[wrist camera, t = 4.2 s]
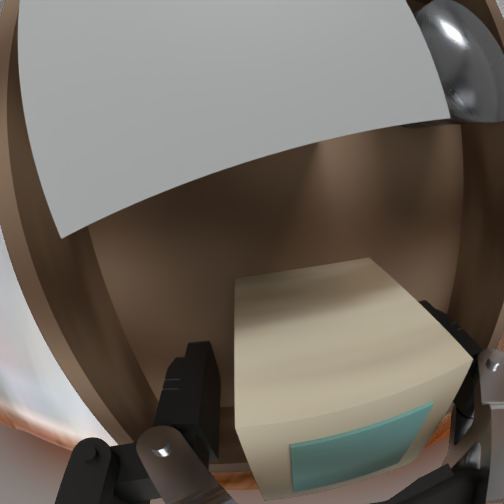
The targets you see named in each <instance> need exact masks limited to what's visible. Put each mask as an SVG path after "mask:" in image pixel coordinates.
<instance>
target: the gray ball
mask: <svg viewBox="0 0 504 504" xmlns="http://www.w3.org/2000/svg"><path fill="white" fill-rule="evenodd" d="M413 15H414V17H415V19H416V21H417V24H418V26H419V28H420V30H421V32H422V34H423V37H424V39H425V41H426V44H427V46H428V48H429V51H430V54H431V56H432V59H433V61H434V64H435V67H436V70H437V73H438V76H439V79H440V82H441V85H442V88H443V91H444V95H445V98H446V102H447V106H448V109H449V113H450V118H448V119H439V120H431V121H423V122H416V123H409V124H403V125H400V126H402V127H406V128H411V129H418V128H426V127H435V126H444V125H456V124H470V123H489V122H502V121H504V54H503V52H502V50H501V48H500V46H499V44H498V43H497V41H496V40H495V38H494V37H493V35H492V34H491V32H490V31H489V30H488V28H487V27H486V26H485V25H484V24H483V23H482V21H481V20H480V19H479V18H478V17H477V16H475V15H474V14H473V13H472V12H471V11H470V10H468V9H467V8H465V7H464V6H462V5H461V4H459V3H457V2H455V1H453V0H433V1H432V2H430V3H429V4H427V5H426V6H424V7H423V8H421V9H420V10H418V11H417V12H415V13H414V14H413Z"/></svg>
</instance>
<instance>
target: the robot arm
mask: <svg viewBox="0 0 504 504" xmlns="http://www.w3.org/2000/svg"><path fill="white" fill-rule="evenodd" d="M419 303H420V304H421V305H422V306H423V307H424V308H425V309H426V310H427V311H428V312H429V313H430V314H431V315H432V316H433V317H434V318H435V319H436V320H437V321H438V322H439V323H440V324H441V325H442V326H443V327H444V328H445V329H446V330H447V331H448V332H449V333H450V334H451V335H452V337H453V338H454V339H455V340H456V341H457V342H458V343H459V344H460V345H461V346H462V347H463V348H464V349H465V350H466V352H467V353H468V354H469V355H470V356H471V357H472V358H473V361H472V363H471V366H470V368H469V370H468V372H467V374H466V376H465V378H464V381H463V383H462V385H461V387H460V389H459V390H458V392H457V394H456V396H455V398H454V400H453V402H454V406H453V408H452V415H451V428H450V438H449V446H448V451H447V454H446V457H445V458H444V461H443V463H442V465H441V467H440V468H438V469H436V470H434V471H432V472H431V473H429V474H427V475H425V476H423V477H421V478H419V479H417V480H416V481H415V482H413V483H412V484H411V485H409V486H408V487H406V488H405V489H404V490H402V491H401V492H399V493H398V494H396V495H395V496H394V497H392V498H390V499H389V500H387V501H384V502H379V503H371V504H504V353H503V352H501V351H500V350H497V349H493V348H489V349H485V350H483V349H482V348H481V347H480V346H479V345H478V344H477V343H476V342H475V341H474V339H473V338H472V337H471V336H470V335H469V334H467V333H466V332H465V331H464V330H463V329H461V327H460V326H459V325H458V324H457V323H455V321H454V320H453V319H452V318H451V317H450V316H449V315H448V314H446V313H444V312H442V311H440V310H438V309H435V308H434V307H433V306H432V305H431V304H430V303H429V302H427V301H426V300H422V301H419ZM220 398H221V379H220V373H219V369H218V366H217V362H216V359H215V356H214V352H213V349H212V345H211V343H210V341H200V342H189V343H188V345H187V349H186V354H185V357H176V358H175V359H174V361H173V362H172V363H171V364H170V365H169V367H168V369H167V372H166V376H165V381H164V384H163V390H162V392H161V395H160V399H159V403H158V408H157V412H156V416H155V420H154V424H153V427H152V428H150V429H148V430H146V431H145V432H144V433H143V434H142V435H141V436H140V437H139V439H138V441H136V442H133V443H129V444H123V445H117V446H111V447H110V446H109V445H108V444H107V443H106V442H105V441H103V440H102V439H99V438H94V437H93V438H86V439H84V440H82V441H80V442H79V443H78V444H77V445H76V446H75V448H74V449H73V452H72V454H71V457H70V460H69V462H68V465H67V468H66V471H65V473H64V476H63V479H62V482H61V485H60V488H59V491H58V495H57V498H56V501H55V504H150V500H151V499H157V498H162V499H163V500H164V502H165V504H237V503H236V502H235V500H234V499H233V498H232V497H231V496H230V495H229V494H228V493H227V492H226V490H225V489H224V488H223V487H222V486H221V485H220V484H219V483H218V482H217V481H216V479H215V478H214V477H213V476H212V475H211V473H210V472H209V461H219V426H220Z"/></svg>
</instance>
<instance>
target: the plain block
mask: <svg viewBox="0 0 504 504" xmlns="http://www.w3.org/2000/svg"><path fill="white" fill-rule="evenodd" d="M18 64H19V77H20V87H21V96H22V103H23V110H24V116H25V121H26V126H27V131H28V136H29V141H30V145H31V149H32V153H33V157H34V161H35V165H36V168H37V172H38V175H39V179H40V182H41V185H42V188H43V191H44V194H45V197H46V200H47V203H48V206H49V209H50V212H51V214H52V217H53V220H54V222H55V225H56V227H57V230H58V232H59V235H60V237H61V239H62V238H64V237H66V236H68V235H70V234H71V233H73V232H75V231H77V230H79V229H81V228H83V227H85V226H87V225H89V224H91V223H94V222H96V221H98V220H100V219H102V218H104V217H106V216H108V215H110V214H113V213H115V212H117V211H119V210H121V209H124V208H126V207H128V206H131V205H133V204H135V203H137V202H140V201H142V200H145V199H147V198H149V197H152V196H154V195H157V194H159V193H162V192H164V191H167V190H169V189H172V188H174V187H177V186H179V185H182V184H185V183H187V182H190V181H193V180H195V179H198V178H201V177H204V176H206V175H209V174H212V173H215V172H218V171H221V170H224V169H227V168H230V167H233V166H236V165H239V164H242V163H245V162H248V161H251V160H255V159H258V158H261V157H264V156H268V155H271V154H275V153H278V152H282V151H285V150H289V149H292V148H296V147H300V146H304V145H308V144H311V143H315V142H319V141H324V140H328V139H332V138H336V137H341V136H345V135H350V134H354V133H359V132H364V131H369V130H374V129H380V128H385V127H391V126H397V125H403V124H409V123H416V122H423V121H431V120H439V119H448V118H450V113H449V109H448V106H447V102H446V98H445V95H444V91H443V88H442V85H441V82H440V79H439V76H438V73H437V70H436V67H435V64H434V61H433V59H432V56H431V54H430V51H429V48H428V46H427V44H426V41H425V39H424V37H423V34H422V32H421V30H420V28H419V26H418V24H417V21H416V19H415V17H414V15H413V13H412V12H411V10H410V8H409V6H408V4H407V2H406V0H20V4H19V17H18Z"/></svg>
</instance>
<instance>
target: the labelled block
mask: <svg viewBox="0 0 504 504" xmlns="http://www.w3.org/2000/svg"><path fill="white" fill-rule="evenodd" d="M472 361H473V358H472V357H471V356H470V355H469V354H468V353H467V352H466V350H465V349H464V348H463V347H462V346H461V345H460V344H459V343H458V342H457V341H456V340H455V339H454V338H453V337H452V335H451V334H450V333H449V332H448V331H447V330H446V329H445V328H444V327H443V326H442V325H441V324H440V323H439V322H438V321H437V320H436V319H435V318H434V317H433V316H432V315H431V314H430V313H429V312H428V311H427V310H426V309H425V308H424V307H423V306H422V305H421V304H420V303H419V302H418V301H417V300H416V299H414V298H413V297H412V296H411V295H410V294H409V293H408V292H407V291H406V290H405V289H404V288H403V287H402V286H401V285H400V284H398V283H397V282H396V281H395V280H394V279H393V278H392V277H391V276H390V275H389V274H388V273H386V272H385V271H384V270H383V269H382V268H381V267H380V266H379V265H377V264H376V263H375V262H374V261H373V260H372V259H371V258H369V257H368V258H363V259H357V260H351V261H345V262H339V263H333V264H327V265H320V266H314V267H308V268H301V269H295V270H288V271H282V272H275V273H269V274H262V275H255V276H248V277H241V278H235V298H234V390H235V429H236V432H237V435H238V437H239V440H240V443H241V445H242V448H243V450H244V453H245V456H246V458H247V461H248V463H249V466H250V468H251V471H252V473H253V475H254V478H255V480H256V483H257V485H258V487H259V490H260V492H261V494H262V496H263V499H264V501H267V500H275V499H283V498H290V497H296V496H302V495H308V494H313V493H317V492H322V491H327V490H330V489H335V488H339V487H342V486H346V485H350V484H353V483H356V482H360V481H363V480H366V479H369V478H372V477H375V476H378V475H381V474H383V473H386V472H389V471H391V470H394V469H396V468H399V467H401V466H404V465H406V464H408V463H410V462H412V461H414V460H415V459H416V457H417V456H418V455H419V453H420V452H421V450H422V449H423V448H424V446H425V445H426V443H427V442H428V441H429V439H430V438H431V436H432V435H433V433H434V432H435V430H436V429H437V427H438V425H439V424H440V422H441V421H442V419H443V417H444V416H445V414H446V412H447V410H448V409H449V407H450V405H451V403H452V402H453V400H454V398H455V396H456V394H457V392H458V390H459V389H460V387H461V385H462V383H463V381H464V378H465V376H466V374H467V372H468V370H469V368H470V366H471V363H472Z"/></svg>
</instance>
